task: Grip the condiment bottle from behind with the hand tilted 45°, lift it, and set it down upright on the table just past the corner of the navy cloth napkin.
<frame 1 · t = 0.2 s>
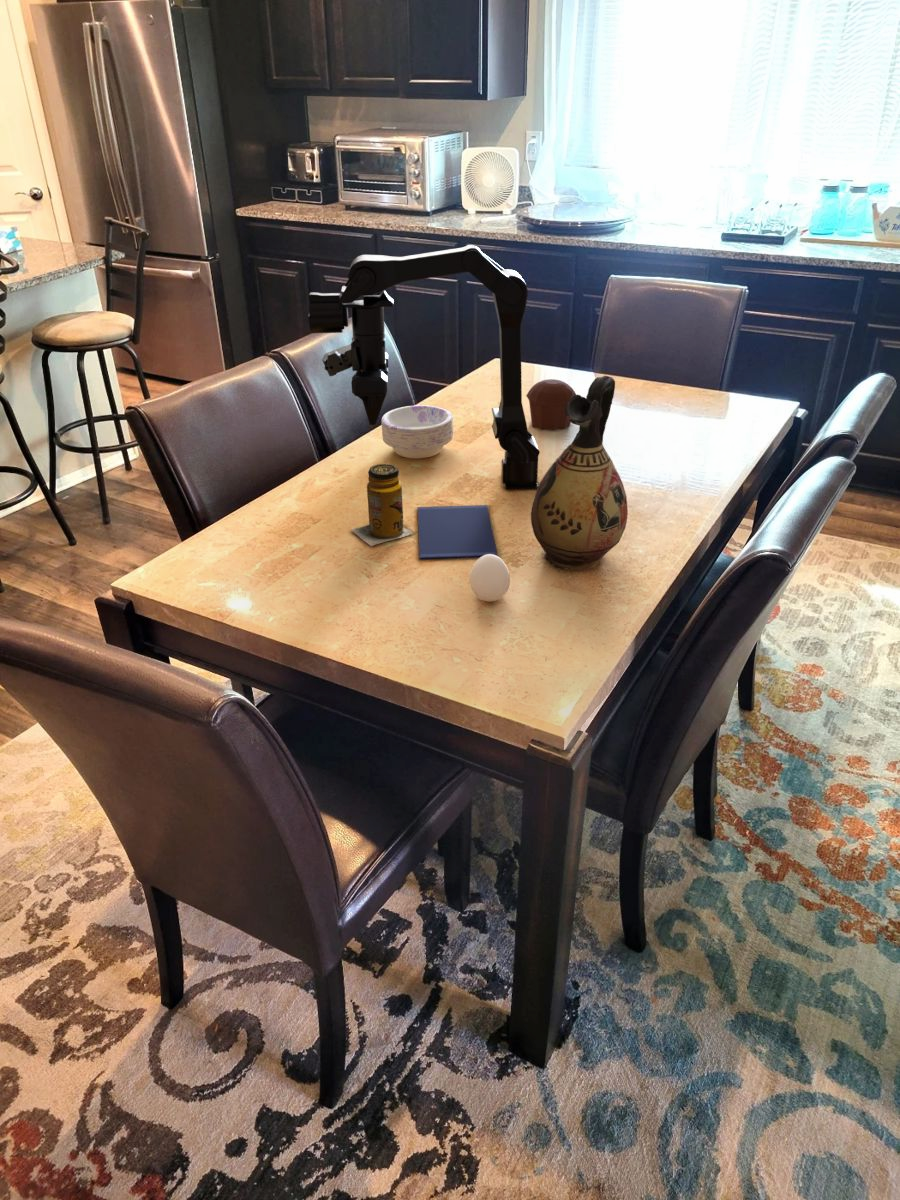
hand: (373, 416, 160), 15 cm above the table, tool pointing down, fingers open, 9 cm apart
egg: (489, 600, 131), on the table
muffin: (550, 424, 198), on the table
paper bowls: (418, 452, 184), on the table
cloth: (455, 531, 151), on the table
ceramic jug: (577, 557, 142), on the table
condiment: (382, 533, 151), on the table
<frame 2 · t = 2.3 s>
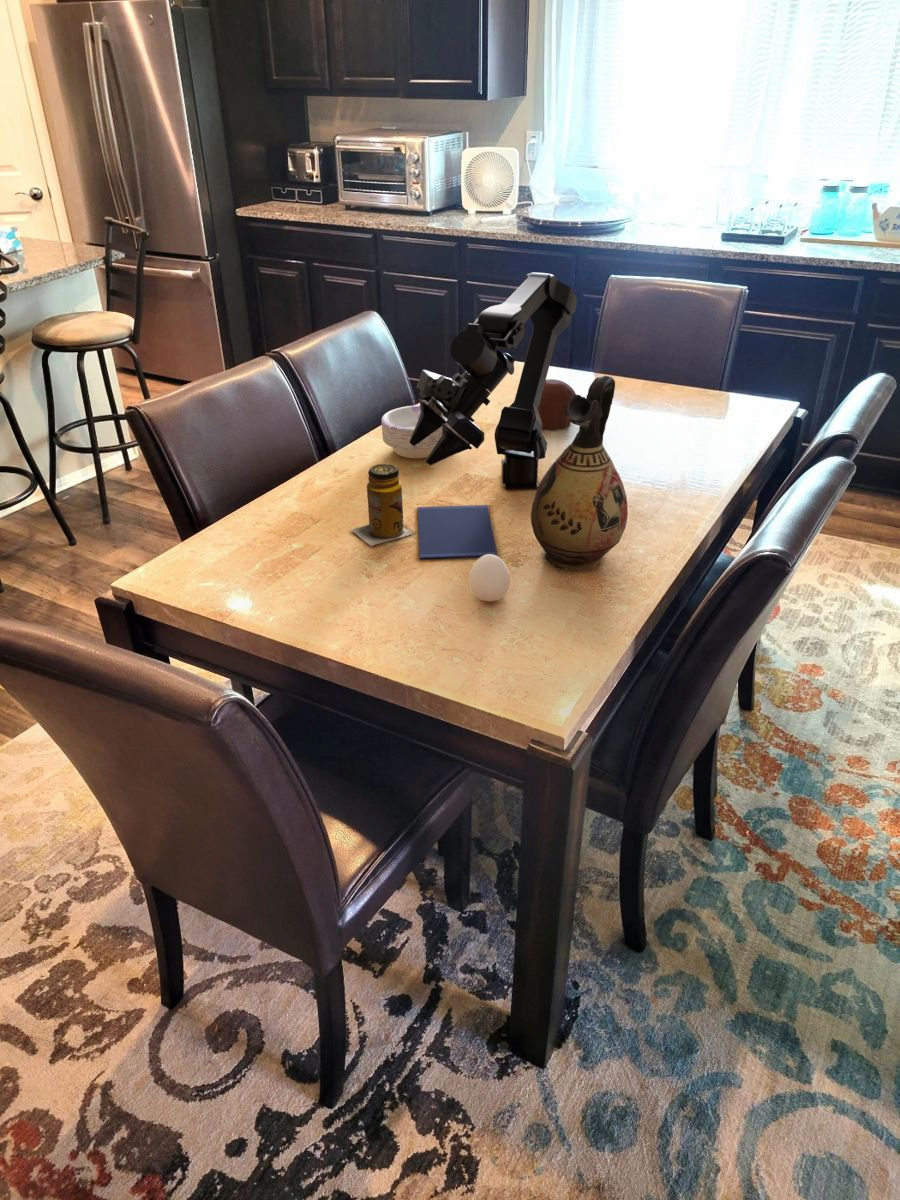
hand: (419, 453, 147), 13 cm above the table, tool tilted 45°, fingers open, 9 cm apart
nothing on the table moved.
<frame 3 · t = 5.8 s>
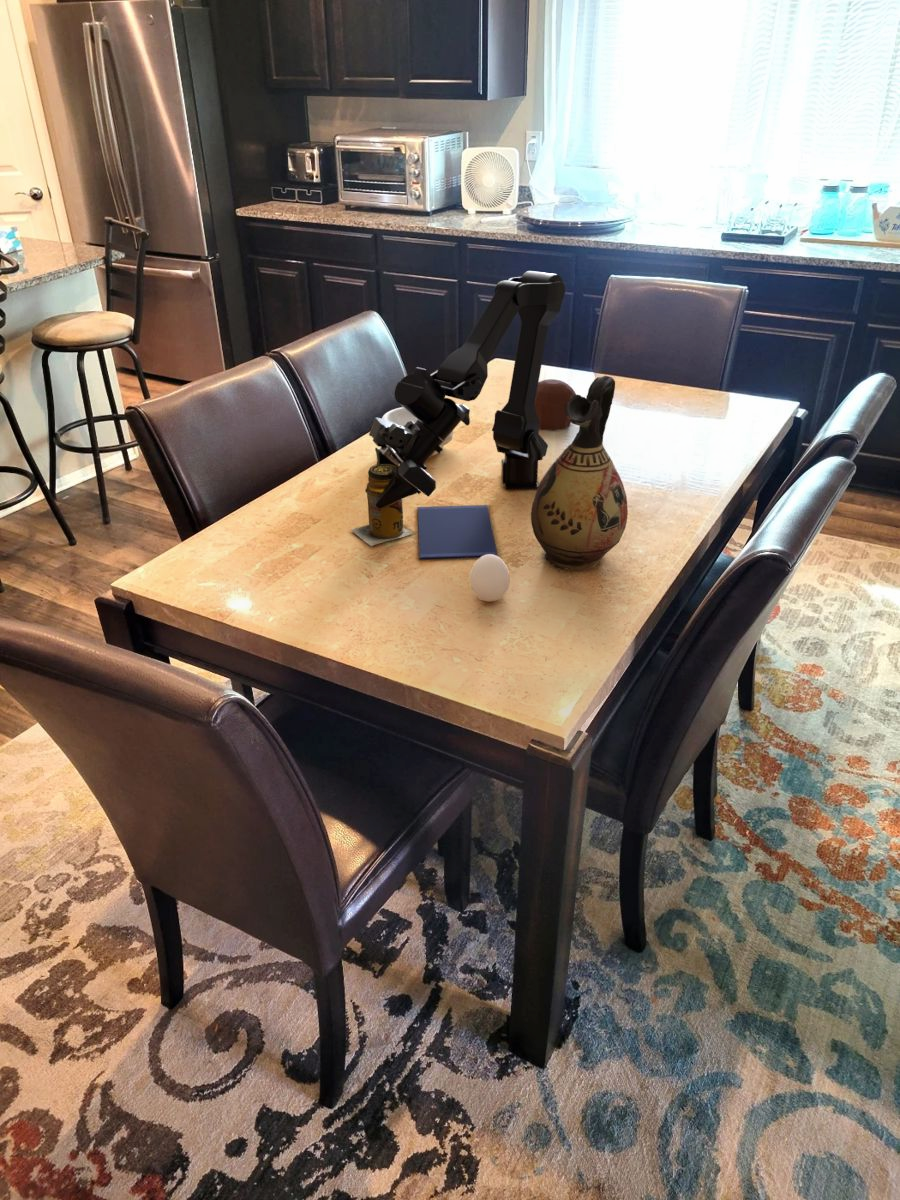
hand: (372, 499, 147), 7 cm above the table, tool tilted 45°, fingers closed on condiment, 6 cm apart
condiment: (381, 533, 151), on the table, touching gripper
everything else where it was.
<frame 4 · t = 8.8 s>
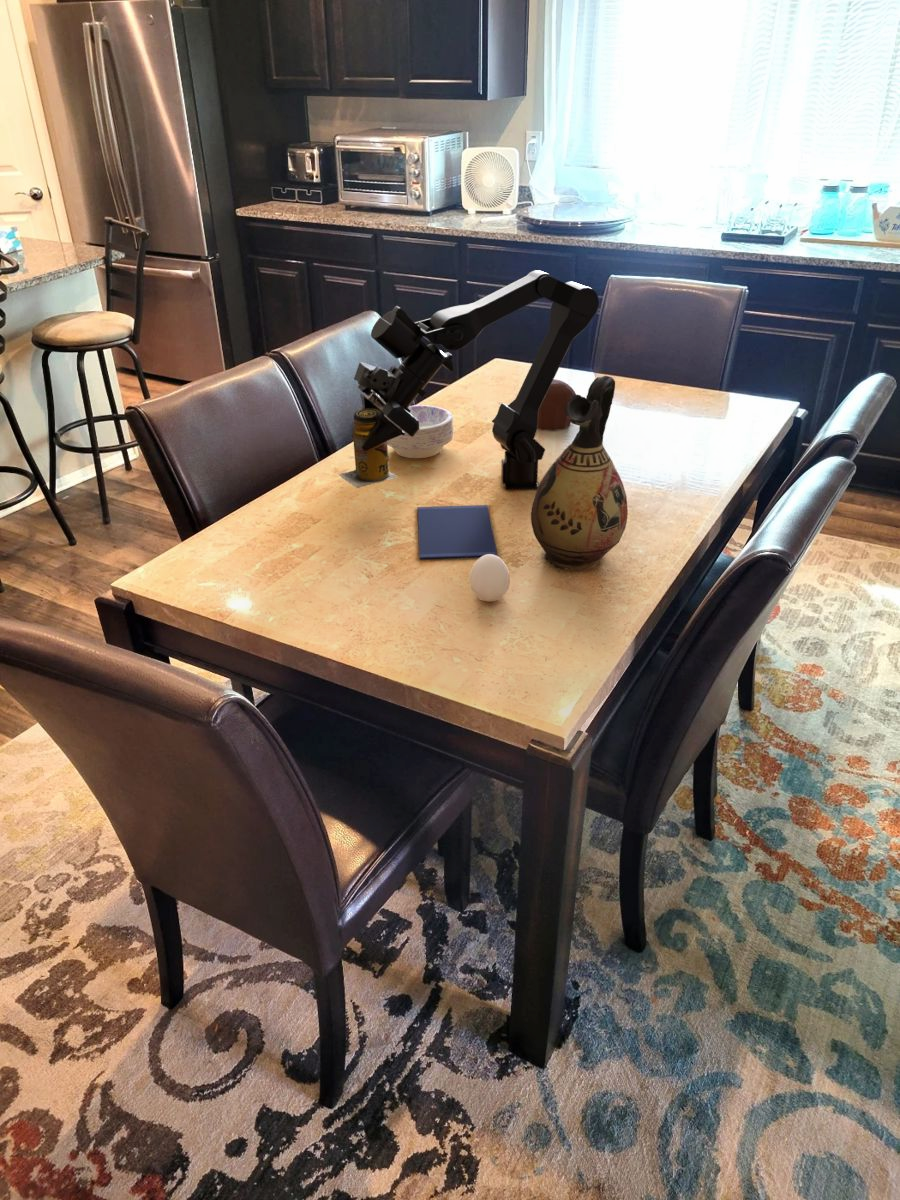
hand: (358, 443, 152), 13 cm above the table, tool tilted 45°, fingers closed on condiment, 6 cm apart
condiment: (368, 477, 155), point 6 cm above the table, touching gripper
everything else where it was.
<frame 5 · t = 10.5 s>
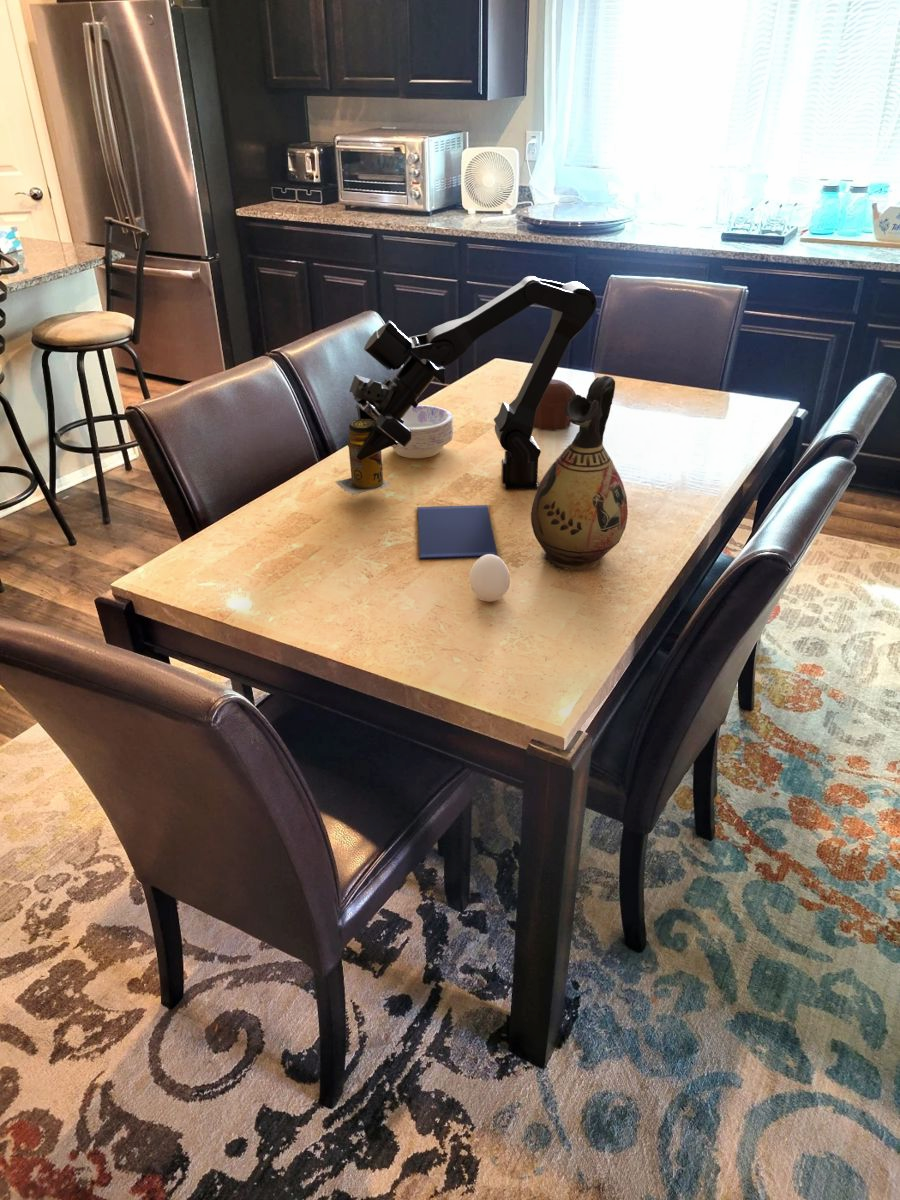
hand: (353, 452, 158), 10 cm above the table, tool tilted 45°, fingers closed on condiment, 6 cm apart
condiment: (363, 485, 162), point 3 cm above the table, touching gripper
everything else where it was.
when the fingers open (7 cm above the table, at t = 11.9 s): condiment stays where it is, on the table.
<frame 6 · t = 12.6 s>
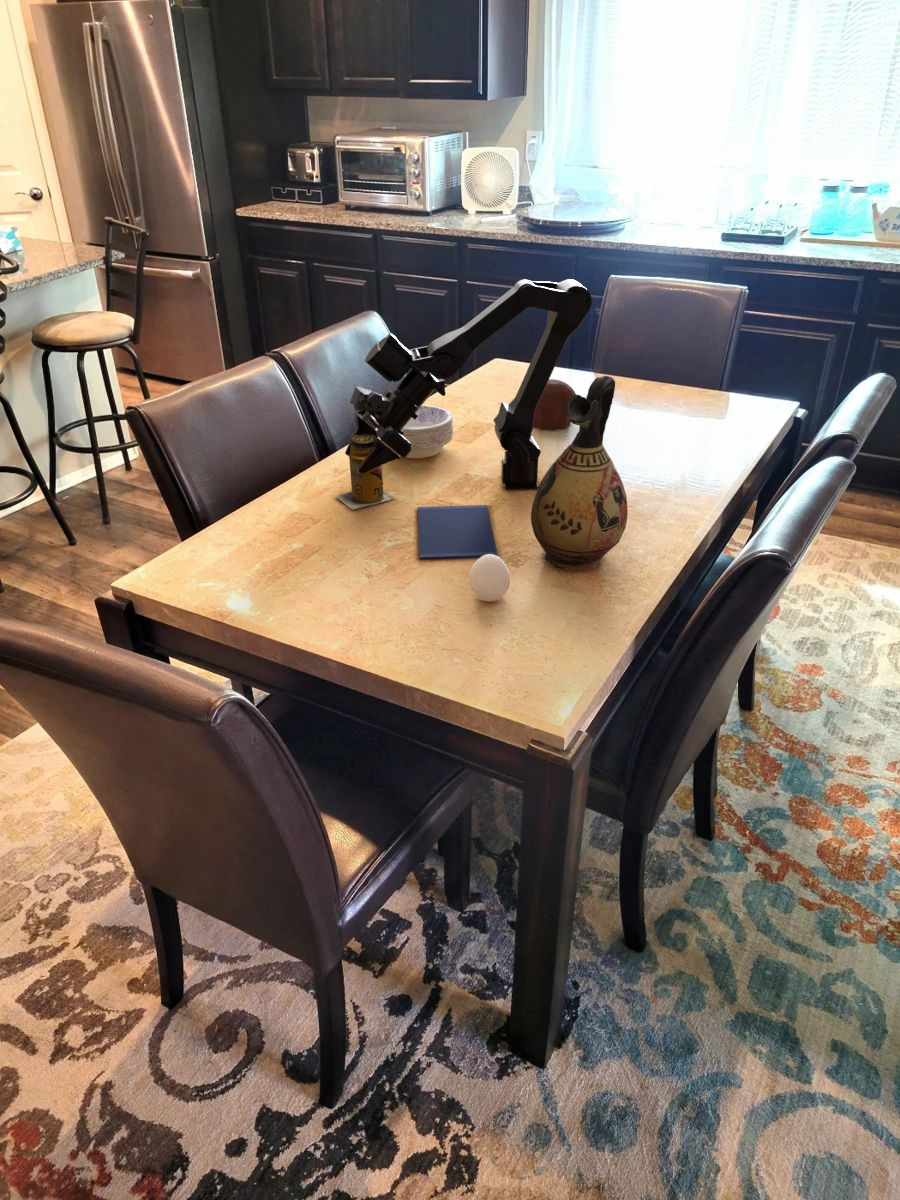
hand: (353, 463, 159), 7 cm above the table, tool tilted 45°, fingers open, 9 cm apart
condiment: (363, 499, 163), on the table
everything else where it was.
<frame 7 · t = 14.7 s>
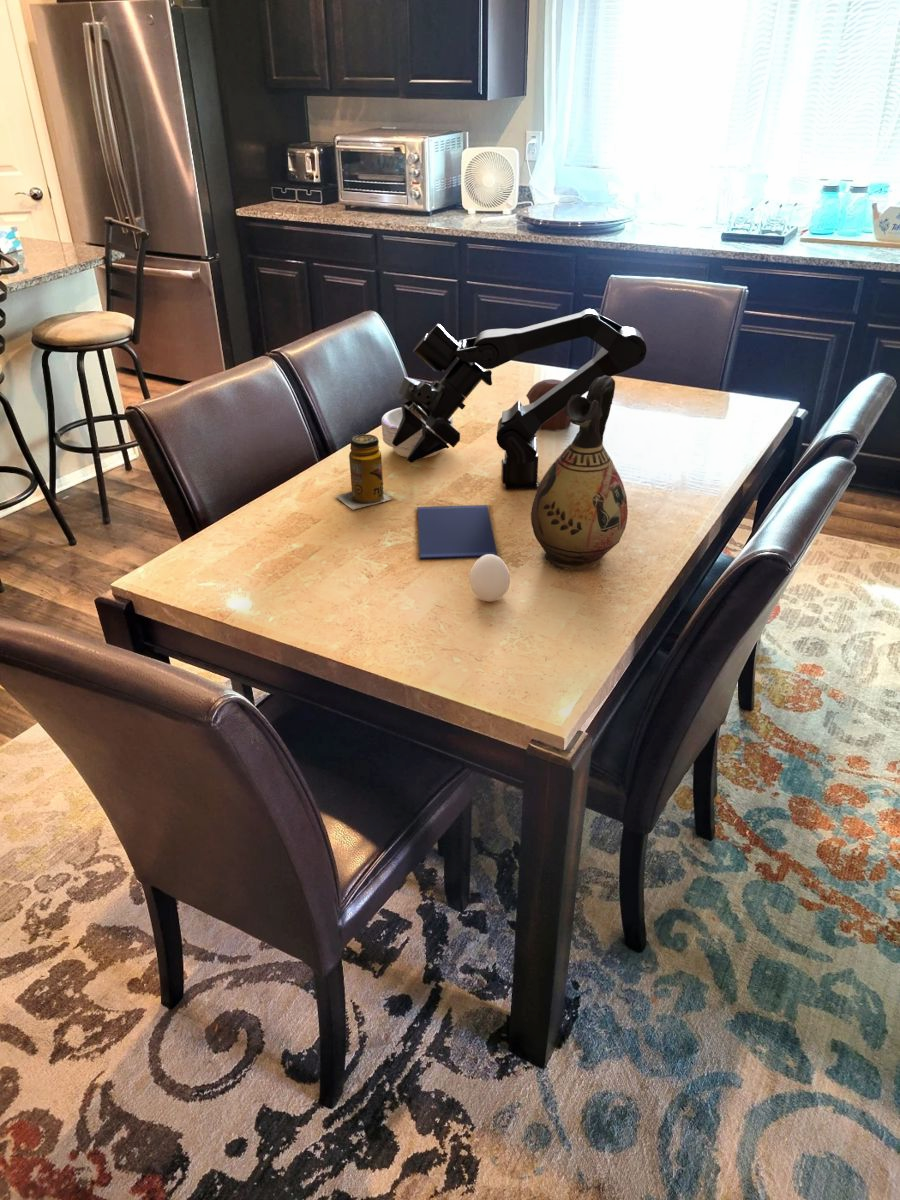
hand: (401, 453, 161), 8 cm above the table, tool tilted 45°, fingers open, 9 cm apart
nothing on the table moved.
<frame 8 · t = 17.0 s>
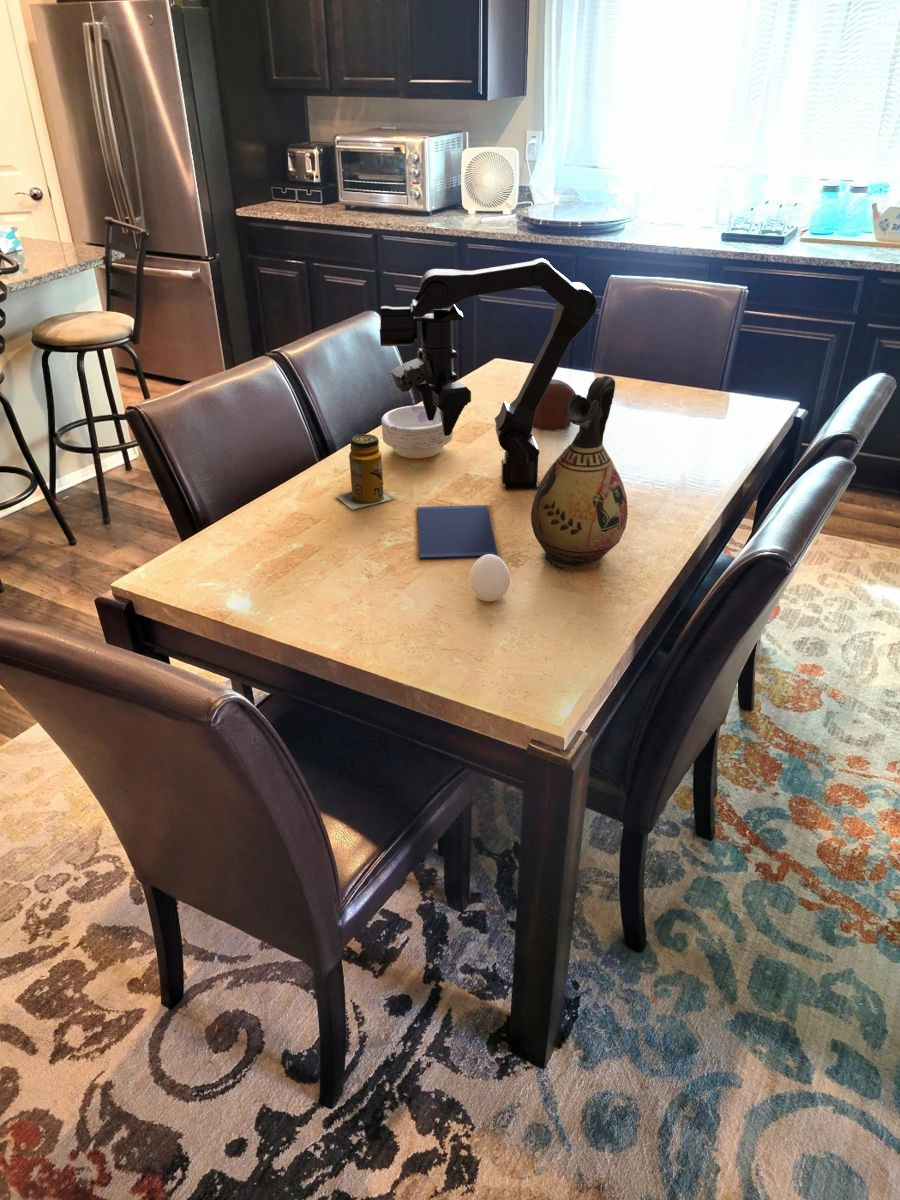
hand: (438, 427, 162), 12 cm above the table, tool pointing down, fingers open, 9 cm apart
nothing on the table moved.
at the end: condiment inside the target area on the table beside the cloth (0.6 cm from its centre), on the table; condiment tilted 0°; the gripper is holding nothing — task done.
